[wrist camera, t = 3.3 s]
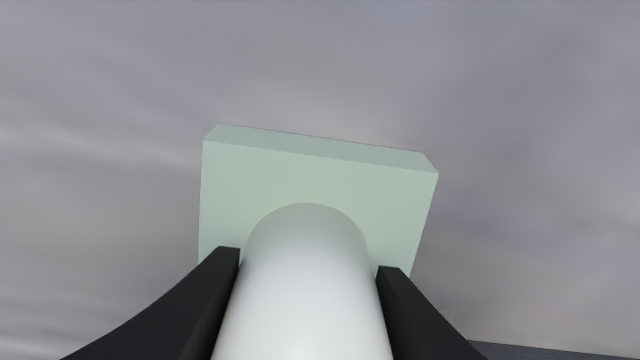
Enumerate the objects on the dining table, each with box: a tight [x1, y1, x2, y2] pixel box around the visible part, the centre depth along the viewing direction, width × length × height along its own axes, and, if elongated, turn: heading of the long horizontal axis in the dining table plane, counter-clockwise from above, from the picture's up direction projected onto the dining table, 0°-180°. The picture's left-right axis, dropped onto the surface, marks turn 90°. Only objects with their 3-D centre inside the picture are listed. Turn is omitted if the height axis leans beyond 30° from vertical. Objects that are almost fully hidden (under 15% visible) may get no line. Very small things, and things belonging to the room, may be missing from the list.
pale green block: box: [198, 123, 439, 278], centre depth 13 cm, size 7×7×2 cm
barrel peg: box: [211, 203, 393, 360], centre depth 9 cm, size 4×4×7 cm
